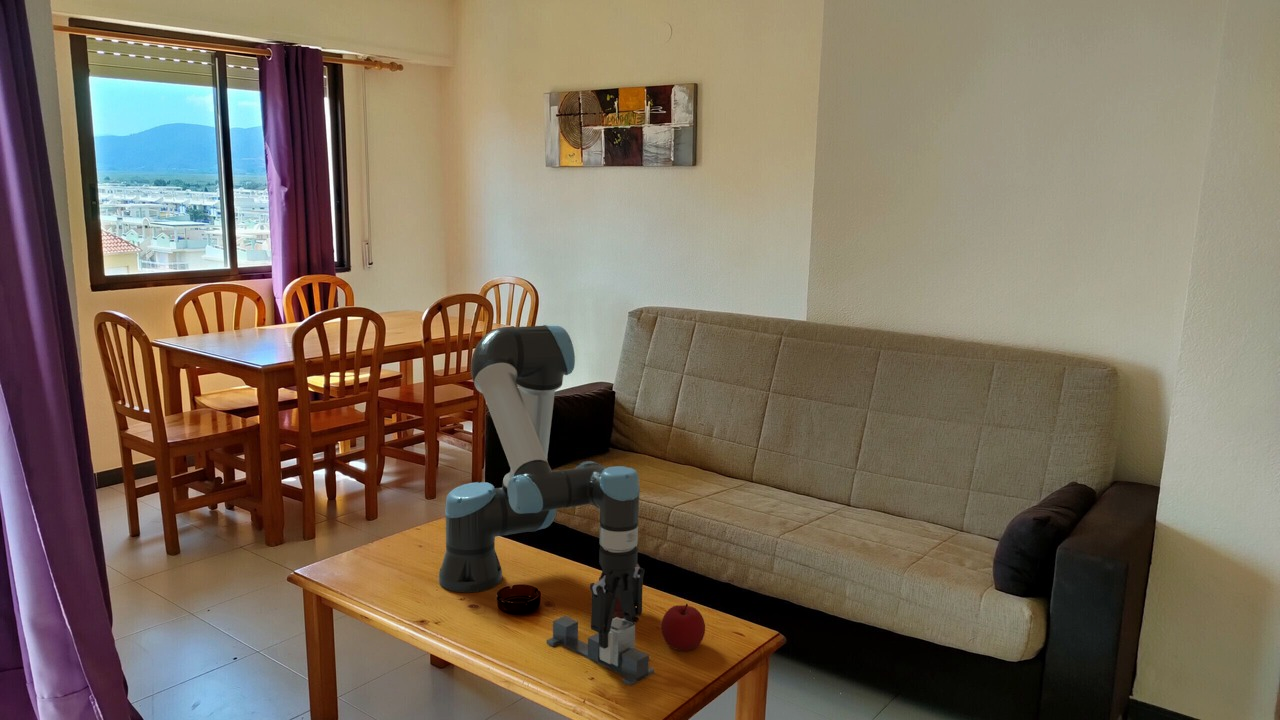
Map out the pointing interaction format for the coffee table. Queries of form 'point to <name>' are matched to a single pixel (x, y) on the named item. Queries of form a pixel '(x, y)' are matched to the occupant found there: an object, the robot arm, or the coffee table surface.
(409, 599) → the coffee table surface
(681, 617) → the apple
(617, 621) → the block
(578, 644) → the rail
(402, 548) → the coffee table surface
